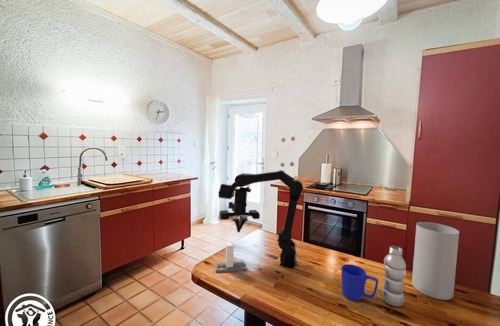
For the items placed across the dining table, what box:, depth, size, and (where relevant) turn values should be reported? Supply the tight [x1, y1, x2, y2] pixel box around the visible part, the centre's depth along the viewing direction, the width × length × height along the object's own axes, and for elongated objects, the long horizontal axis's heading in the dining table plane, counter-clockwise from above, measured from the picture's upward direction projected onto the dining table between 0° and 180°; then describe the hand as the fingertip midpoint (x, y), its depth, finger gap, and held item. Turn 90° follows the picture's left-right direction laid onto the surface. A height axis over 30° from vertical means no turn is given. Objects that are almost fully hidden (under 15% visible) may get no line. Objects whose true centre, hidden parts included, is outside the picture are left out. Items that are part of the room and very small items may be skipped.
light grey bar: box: [216, 260, 245, 267], centre depth 99 cm, size 12×2×2 cm, turn 99°
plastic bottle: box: [381, 245, 407, 307], centre depth 79 cm, size 6×7×20 cm
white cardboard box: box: [225, 241, 235, 268], centre depth 99 cm, size 3×5×10 cm, turn 9°
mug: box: [340, 263, 379, 302], centre depth 81 cm, size 8×12×10 cm
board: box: [215, 262, 247, 273], centre depth 99 cm, size 13×6×1 cm, turn 99°
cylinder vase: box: [411, 221, 460, 301], centre depth 86 cm, size 12×12×25 cm
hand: (238, 232), depth 107 cm, fingers closed
